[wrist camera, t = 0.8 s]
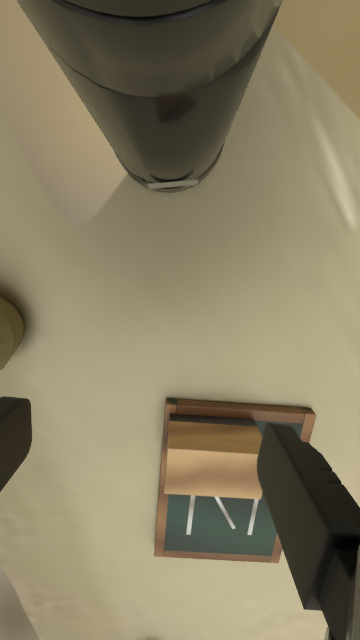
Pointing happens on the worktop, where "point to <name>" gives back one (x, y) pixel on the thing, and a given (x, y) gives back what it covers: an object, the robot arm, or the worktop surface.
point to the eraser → (212, 457)
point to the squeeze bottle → (9, 331)
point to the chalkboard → (222, 512)
